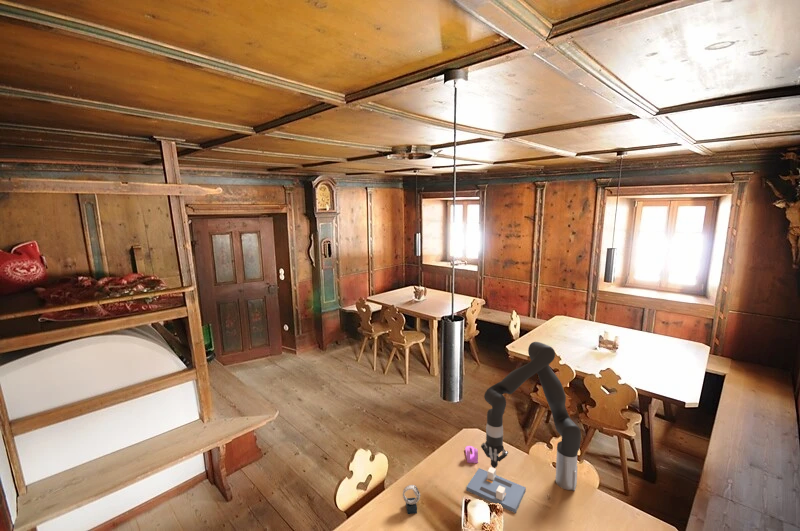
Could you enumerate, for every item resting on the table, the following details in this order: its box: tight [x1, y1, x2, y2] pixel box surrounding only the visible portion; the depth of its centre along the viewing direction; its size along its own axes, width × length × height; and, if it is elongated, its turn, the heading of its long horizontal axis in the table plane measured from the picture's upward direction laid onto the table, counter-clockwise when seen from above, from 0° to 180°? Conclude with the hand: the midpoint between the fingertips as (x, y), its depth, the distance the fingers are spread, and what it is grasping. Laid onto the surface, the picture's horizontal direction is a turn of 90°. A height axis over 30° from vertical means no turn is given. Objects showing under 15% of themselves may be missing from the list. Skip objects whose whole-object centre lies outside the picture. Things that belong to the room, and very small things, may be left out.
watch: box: [402, 484, 421, 515], centre depth 158 cm, size 6×8×11 cm
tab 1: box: [487, 466, 497, 480], centre depth 175 cm, size 3×4×4 cm
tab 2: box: [496, 485, 505, 501], centre depth 162 cm, size 3×4×4 cm
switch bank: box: [465, 467, 527, 514], centre depth 169 cm, size 24×16×2 cm, turn 55°
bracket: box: [464, 445, 479, 464], centre depth 196 cm, size 13×6×7 cm, turn 176°
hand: (494, 466), depth 163 cm, fingers closed
